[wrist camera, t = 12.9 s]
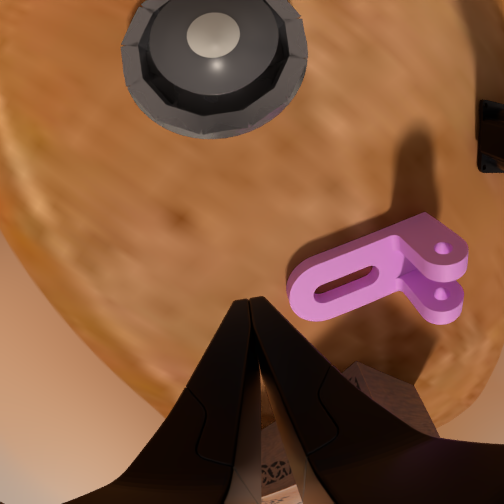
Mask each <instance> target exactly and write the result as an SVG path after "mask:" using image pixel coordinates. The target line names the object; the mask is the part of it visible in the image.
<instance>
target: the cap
mask: <svg viewBox="0 0 504 504" xmlns="http://www.w3.org/2000/svg"><path fill="white" fill-rule="evenodd" d="M278 37H279V35H278V27H277V23H276V20H275V17H274V15H273V13H272V12H271V10H270V8H269V7H268V6H267V5H266V4H265V3H264V2H263V1H262V0H171V1H170V2H168V3H167V4H166V5H165V6H164V7H163V9H162V10H161V11H160V12H159V14H158V15H157V17H156V19H155V21H154V23H153V26H152V29H151V33H150V41H149V44H150V52H151V56H152V59H153V61H154V63H155V65H156V67H157V69H158V70H159V71H160V72H161V74H162V75H163V76H164V77H165V78H166V79H167V80H169V81H170V82H172V83H173V84H174V85H176V86H178V87H180V88H182V89H185V90H188V91H190V92H193V93H196V94H199V95H204V96H223V95H228V94H231V93H234V92H237V91H239V90H241V89H243V88H244V87H246V86H247V85H249V84H250V83H251V82H252V81H253V80H255V79H256V78H257V77H258V76H260V75H261V74H262V73H263V72H264V71H265V70H266V68H267V67H268V66H269V64H270V63H271V61H272V59H273V57H274V55H275V53H276V50H277V45H278Z"/></svg>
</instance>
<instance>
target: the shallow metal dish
mask: <svg viewBox="0 0 504 504" xmlns="http://www.w3.org/2000/svg"><path fill="white" fill-rule="evenodd" d="M170 1H171V0H146V1H145V2H143V3H142V4H141V5H142V6H143V7H139V8H138V9H137V11H136V13H135V15H134V17H133V19H132V22H131V24H130V26H129V28H128V30H127V32H126V34H125V37H124V39H123V41H122V43H121V45H123V46H122V47H121V54H122V62H123V73H124V77H125V82H126V86H127V87H128V90H129V92H130V94H131V96H132V98H133V99H134V101H135V103H136V104H137V105H138V107H139V108H140V109H141V110H142V111H143V112H144V113H145V114H146V115H147V116H148V117H149V118H150V119H151V120H153V121H154V122H156V123H157V124H158V125H160V126H162V127H164V128H166V129H167V130H170V131H172V132H175V133H177V134H180V135H184V136H188V137H193V138H200V139H220V138H228V137H233V136H238V135H241V134H244V133H247V132H250V131H252V130H254V129H256V128H258V127H261V126H262V125H264V124H266V123H267V122H269V121H270V120H272V119H273V118H274V117H276V116H277V115H278V114H279V113H281V112H282V110H283V109H284V108H285V107H286V106H287V105H288V104H289V103H290V102H291V100H292V99H293V98H294V96H295V95H296V93H297V91H298V89H299V87H300V86H301V83H302V81H303V78H304V75H305V71H306V67H307V58H308V50H307V41H306V37H305V33H304V27H303V21H302V19H299V18H300V15H299V13H298V12H297V11H296V10H295V9H294V8H293V7H292V5H291V4H290V3H289V2H288V1H287V0H262V1H263V2H264V3H265V4H266V5H267V6H268V7H269V8H270V10H271V12H272V13H273V15H274V17H275V20H276V23H277V27H278V35H279V37H278V45H277V50H276V53H275V55H274V57H273V59H272V61H271V63H270V64H269V66H268V67H267V68H266V70H265V71H264V72H263V73H262V74H261V75H260V76H258V77H257V78H256V79H255V80H253V81H252V82H251V83H250V84H249V85H247V86H246V87H244V88H243V89H241V90H239V91H237V92H234V93H231V94H228V95H223V96H204V95H199V94H196V93H193V92H190V91H188V90H185V89H182V88H180V87H178V86H176V85H174V84H173V83H172V82H170V81H169V80H167V79H166V78H165V77H164V76H163V75H162V74H161V72H160V71H159V70H158V69H157V67H156V65H155V63H154V61H153V59H152V56H151V52H150V44H149V41H150V33H151V29H152V26H153V23H154V21H155V19H156V17H157V15H158V14H159V12H160V11H161V10H162V9H163V7H164V6H165V5H166V4H167V3H168V2H170Z"/></svg>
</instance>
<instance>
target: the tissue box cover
mask: <svg viewBox="0 0 504 504" xmlns="http://www.w3.org/2000/svg"><path fill="white" fill-rule="evenodd" d="M342 374H343V375H344V376H345V377H346V378H347V379H348V380H349V381H350V382H351V383H353V384H354V385H355V386H356V387H357V388H358V389H360V390H361V391H362V392H364V393H365V394H366V395H368V396H369V397H370V398H371V399H373V400H374V401H376V402H377V403H378V404H380V405H381V406H383V407H384V408H385V409H387V410H388V411H390V412H391V413H393V414H394V415H395V416H397V417H398V418H400V419H401V420H403V421H404V422H406V423H407V424H408V425H410V426H412V427H413V428H415V429H416V430H418V431H420V432H422V433H425V434H427V435H430V436H434V437H438V438H440V436H439V434H438V432H437V430H436V428H435V426H434V424H433V422H432V420H431V418H430V416H429V414H428V412H427V410H426V408H425V406H424V404H423V402H422V400H421V398H420V396H419V394H418V392H417V391H416V389H415V387H414V385H411V384H409V383H406V382H404V381H402V380H399V379H397V378H394V377H392V376H390V375H387V374H385V373H383V372H380V371H378V370H376V369H373V368H371V367H369V366H367V365H364V364H362V363H360V362H358V361H356V362H354V363H353V364H352V365H351V366H350V367H348V368H347V369H346V370H345V371H344V372H342ZM261 501H262V504H303V502H302V500H301V497H300V494H299V491H298V488H297V485H296V482H295V479H294V476H293V473H292V470H291V467H290V464H289V461H288V458H287V455H286V452H285V449H284V446H283V443H282V440H281V436H280V433H279V430H278V427H277V424H276V421H275V422H273V423H272V424H270V425H269V426H267V427H266V428H264V429H262V430H261Z"/></svg>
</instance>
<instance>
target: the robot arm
mask: <svg viewBox="0 0 504 504" xmlns="http://www.w3.org/2000/svg"><path fill="white" fill-rule="evenodd" d="M484 105H485V106H484ZM479 107H480V138H479V159H478V170H479V171H480V172H483V173H504V104H500V103H496V102H492V101H488V100H483V99H482V100H480V103H479ZM259 366H260V367H259ZM260 371H261V375H262V379H263V382H264V385H265V389H266V392H267V395H268V398H269V402H270V405H271V408H272V411H273V414H274V418H275V421H276V424H277V427H278V430H279V433H280V436H281V440H282V443H283V446H284V449H285V452H286V455H287V458H288V461H289V464H290V467H291V470H292V473H293V476H294V479H295V482H296V485H297V488H298V491H299V494H300V497H301V500H302V502H303V504H504V444H489V443H477V442H467V441H458V440H450V439H444V438H438V437H434V436H430V435H427V434H425V433H422V432H420V431H418V430H416V429H415V428H413V427H412V426H410V425H408V424H407V423H406V422H404V421H403V420H401V419H400V418H398V417H397V416H395V415H394V414H393V413H391V412H390V411H388V410H387V409H385V408H384V407H383V406H381V405H380V404H378V403H377V402H376V401H374V400H373V399H371V398H370V397H369V396H368V395H366V394H365V393H364V392H362V391H361V390H360V389H358V388H357V387H356V386H355V385H354V384H353V383H351V382H350V381H349V380H348V379H347V378H346V377H345V376H344V375H343V374H342V373H341V372H340V371H339V370H337V369H336V368H335V367H334V366H332V364H331V363H330V362H329V361H328V360H327V359H326V358H325V357H324V356H323V355H322V354H321V353H320V352H319V351H318V350H317V349H316V348H315V347H314V346H313V345H312V344H311V343H310V342H309V341H308V340H307V339H306V338H305V337H304V336H303V335H302V334H301V333H300V332H299V331H298V330H297V329H296V328H295V327H294V326H293V325H292V324H291V323H290V322H289V321H288V320H287V319H286V318H285V317H284V316H283V315H282V314H281V313H280V312H279V311H278V310H277V309H276V308H275V307H274V306H273V305H272V304H271V303H270V302H269V301H268V300H267V299H266V298H265V297H263V296H259V297H253V298H250V299H249V300H248V299H240V300H235V301H233V303H232V305H231V306H230V308H229V310H228V312H227V314H226V315H225V317H224V319H223V321H222V323H221V324H220V326H219V328H218V330H217V332H216V333H215V335H214V337H213V339H212V340H211V342H210V344H209V346H208V348H207V349H206V351H205V353H204V355H203V356H202V358H201V360H200V362H199V364H198V365H197V367H196V369H195V371H194V372H193V374H192V376H191V378H190V380H189V381H188V383H187V385H186V387H187V388H184V390H183V392H182V393H181V395H180V397H179V399H178V400H177V402H176V404H175V405H174V407H173V409H172V410H171V412H170V413H169V415H168V416H167V418H166V419H165V421H164V422H163V423H162V425H161V426H160V427H159V429H158V430H157V432H156V433H155V434H154V436H153V437H152V438H151V439H150V441H149V442H148V443H147V445H146V446H145V447H144V448H143V450H142V451H141V452H140V454H139V455H138V456H137V457H136V459H135V460H134V461H133V462H132V464H131V465H130V466H129V467H128V469H127V470H126V471H125V472H124V473H123V474H122V475H121V476H120V477H118V478H117V479H116V480H114V481H113V482H111V483H110V484H108V485H106V486H104V487H102V488H99V489H97V490H95V491H93V492H90V493H88V494H85V495H83V496H81V497H78V498H76V499H73V500H70V501H68V502H65V503H62V504H262V501H261V383H260ZM0 504H4V503H2V502H0Z"/></svg>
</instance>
